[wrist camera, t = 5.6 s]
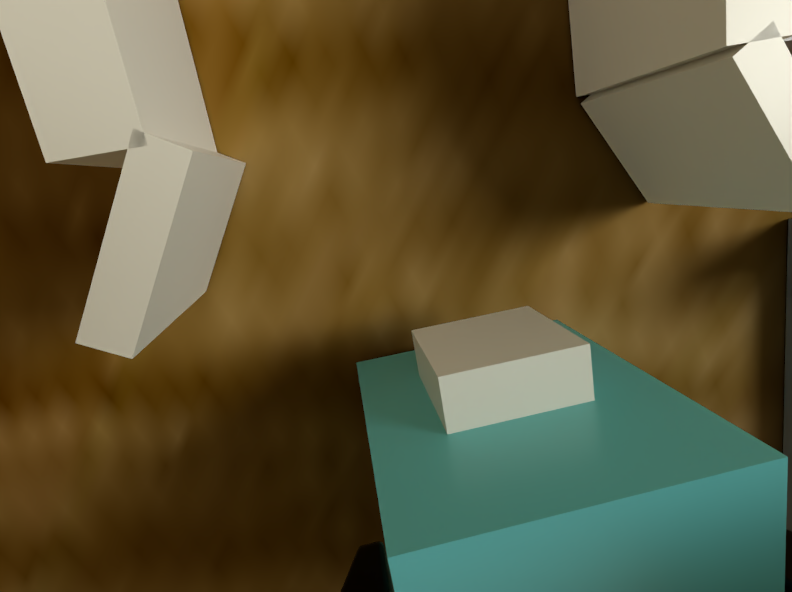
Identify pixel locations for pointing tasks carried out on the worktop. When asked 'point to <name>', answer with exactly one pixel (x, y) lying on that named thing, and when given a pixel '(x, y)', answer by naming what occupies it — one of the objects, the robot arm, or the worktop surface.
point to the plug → (561, 470)
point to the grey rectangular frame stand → (788, 381)
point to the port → (220, 175)
